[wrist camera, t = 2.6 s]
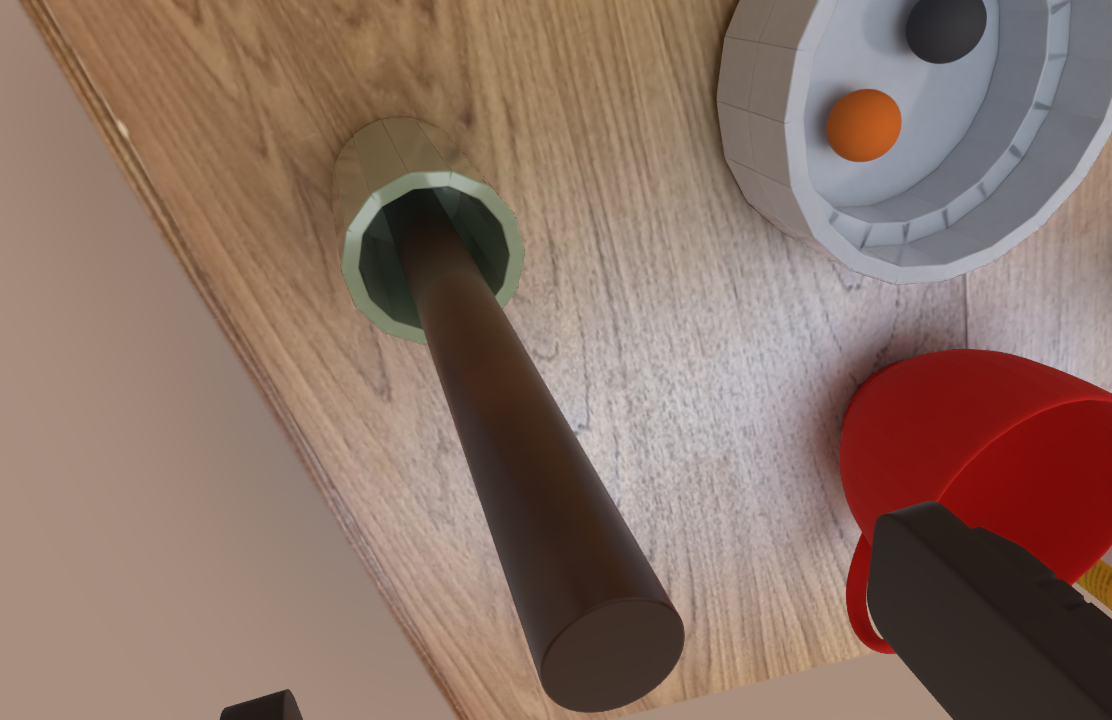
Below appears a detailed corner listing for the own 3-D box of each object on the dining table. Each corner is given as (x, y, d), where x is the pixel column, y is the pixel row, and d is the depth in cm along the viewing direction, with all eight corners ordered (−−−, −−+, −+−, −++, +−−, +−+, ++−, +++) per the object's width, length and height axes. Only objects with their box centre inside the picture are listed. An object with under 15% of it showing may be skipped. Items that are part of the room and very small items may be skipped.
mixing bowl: (639, 109, 33) (703, 138, 27) (899, -239, 29) (1025, -280, 24) (853, 297, 40) (934, 347, 35) (1077, 35, 37) (1203, 48, 32)
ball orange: (799, 127, 34) (839, 141, 32) (846, 69, 34) (891, 78, 31) (839, 167, 36) (880, 183, 33) (884, 112, 35) (930, 124, 33)
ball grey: (877, 29, 33) (926, 35, 31) (927, -33, 33) (980, -32, 30) (915, 74, 35) (964, 83, 32) (963, 16, 34) (1016, 20, 32)
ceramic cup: (711, 531, 45) (809, 667, 36) (883, 269, 40) (1042, 355, 31) (864, 575, 50) (981, 702, 42) (1031, 351, 45) (1201, 442, 37)
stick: (367, 197, 30) (509, 692, 10) (396, 154, 30) (606, 577, 9) (410, 225, 31) (621, 729, 11) (439, 184, 31) (715, 626, 10)
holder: (303, 205, 30) (305, 288, 23) (383, 85, 29) (412, 130, 22) (419, 276, 33) (455, 373, 25) (496, 169, 32) (558, 235, 24)
